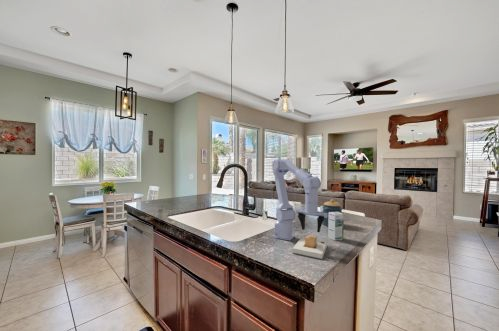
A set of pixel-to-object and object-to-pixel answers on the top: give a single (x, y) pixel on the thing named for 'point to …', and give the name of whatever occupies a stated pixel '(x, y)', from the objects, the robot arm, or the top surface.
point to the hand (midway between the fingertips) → (310, 230)
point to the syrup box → (335, 225)
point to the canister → (331, 209)
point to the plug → (311, 241)
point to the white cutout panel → (310, 249)
